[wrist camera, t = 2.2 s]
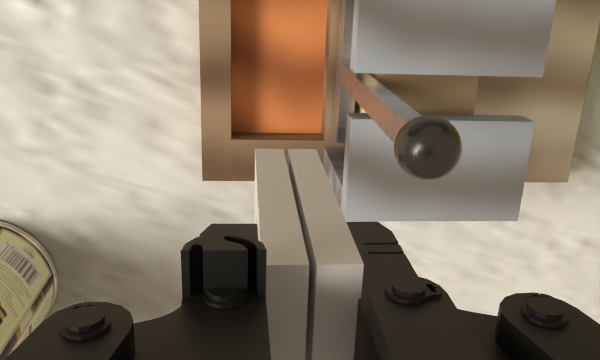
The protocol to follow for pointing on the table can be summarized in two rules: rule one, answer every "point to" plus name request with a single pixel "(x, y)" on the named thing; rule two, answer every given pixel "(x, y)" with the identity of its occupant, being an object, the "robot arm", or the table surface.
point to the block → (431, 92)
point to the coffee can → (23, 286)
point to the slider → (392, 115)
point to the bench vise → (399, 60)
